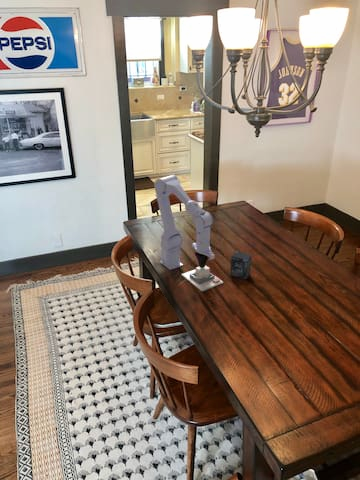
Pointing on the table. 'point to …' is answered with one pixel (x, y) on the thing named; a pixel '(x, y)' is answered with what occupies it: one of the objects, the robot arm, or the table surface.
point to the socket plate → (202, 280)
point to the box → (240, 265)
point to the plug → (202, 272)
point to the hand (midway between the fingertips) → (202, 266)
